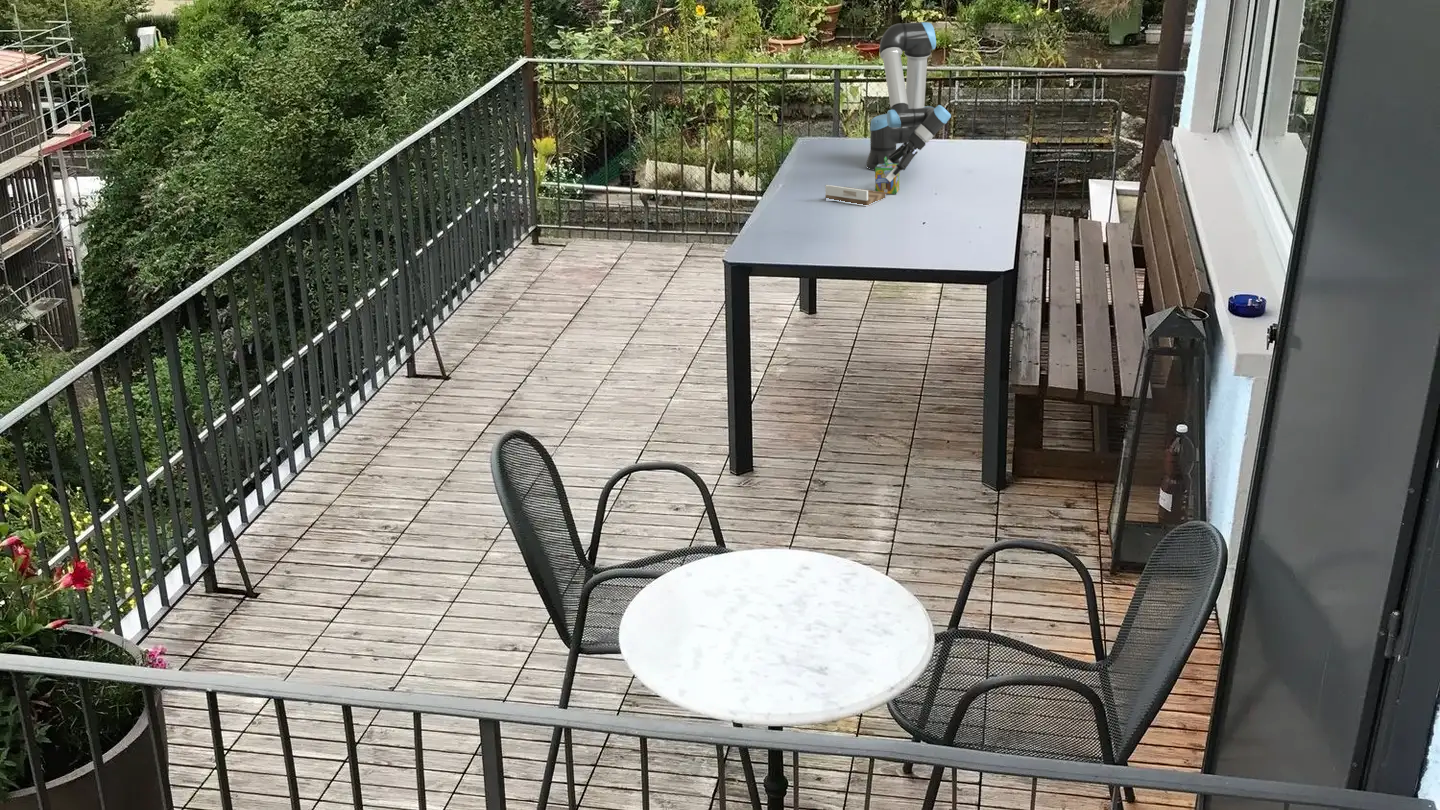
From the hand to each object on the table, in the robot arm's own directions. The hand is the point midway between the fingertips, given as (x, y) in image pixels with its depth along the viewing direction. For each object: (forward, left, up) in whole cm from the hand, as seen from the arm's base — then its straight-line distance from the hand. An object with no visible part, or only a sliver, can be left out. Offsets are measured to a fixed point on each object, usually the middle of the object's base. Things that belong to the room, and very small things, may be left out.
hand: (884, 176), depth 572 cm
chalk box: (0, +1, -7) cm, 7 cm away
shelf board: (+8, -14, -7) cm, 18 cm away
